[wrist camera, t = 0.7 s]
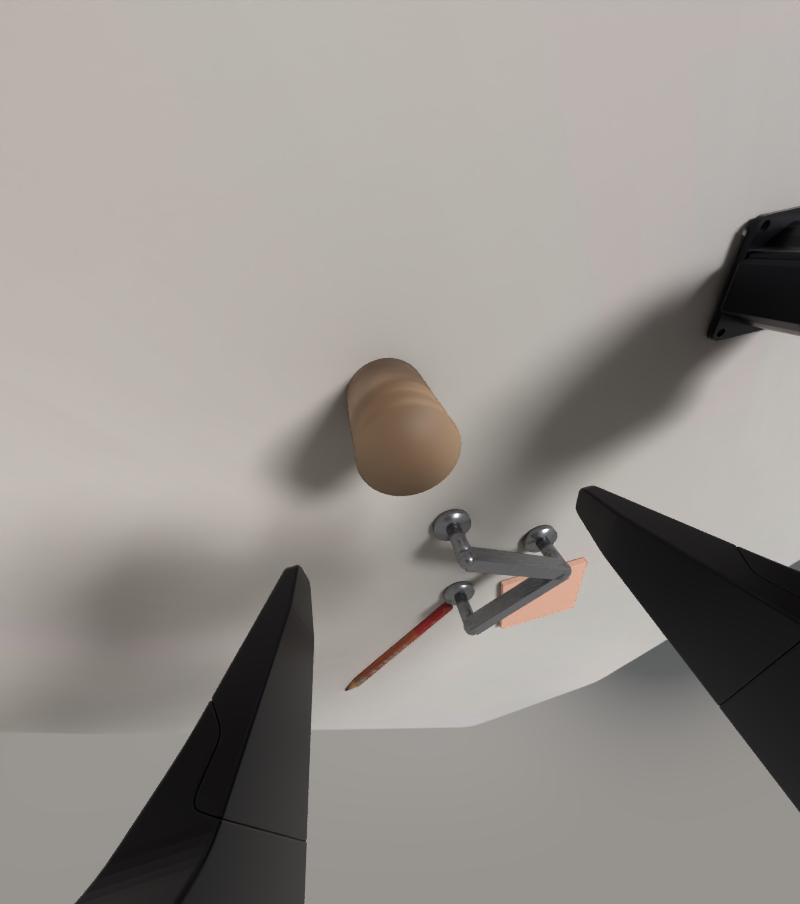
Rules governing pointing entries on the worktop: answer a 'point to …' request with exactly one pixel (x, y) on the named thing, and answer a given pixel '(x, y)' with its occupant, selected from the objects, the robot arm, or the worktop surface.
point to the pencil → (401, 645)
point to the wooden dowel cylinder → (399, 429)
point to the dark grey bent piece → (500, 570)
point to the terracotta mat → (546, 596)
